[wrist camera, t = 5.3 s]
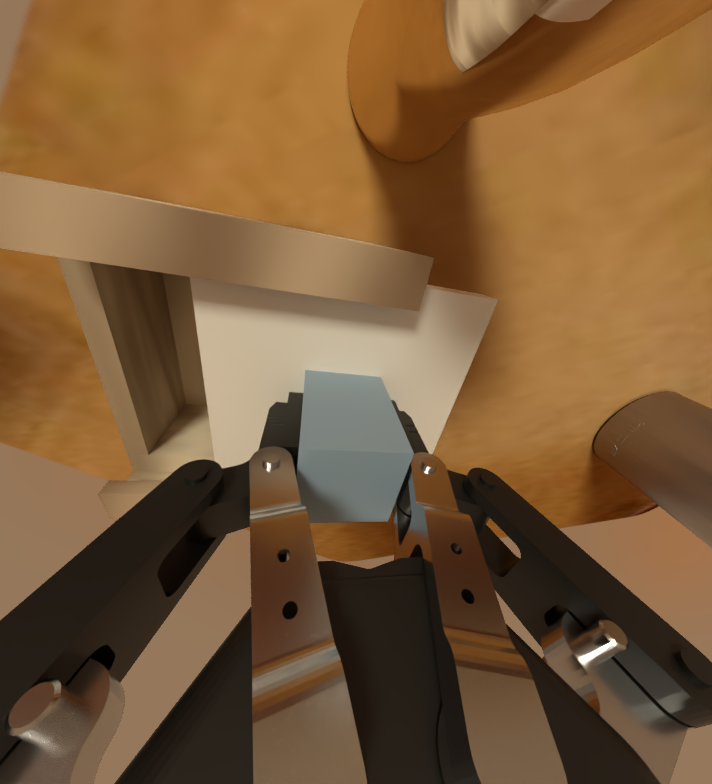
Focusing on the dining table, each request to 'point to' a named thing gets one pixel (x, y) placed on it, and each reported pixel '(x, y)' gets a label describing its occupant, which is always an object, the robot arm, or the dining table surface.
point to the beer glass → (485, 59)
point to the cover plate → (329, 341)
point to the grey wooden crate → (177, 299)
